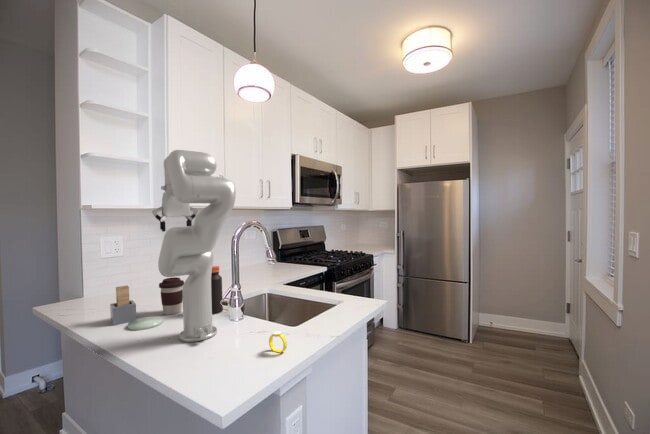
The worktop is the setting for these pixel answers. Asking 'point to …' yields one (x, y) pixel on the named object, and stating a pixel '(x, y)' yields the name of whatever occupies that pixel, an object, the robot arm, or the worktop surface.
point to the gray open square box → (123, 313)
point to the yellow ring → (279, 333)
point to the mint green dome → (145, 323)
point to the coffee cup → (171, 295)
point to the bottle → (216, 290)
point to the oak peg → (122, 295)
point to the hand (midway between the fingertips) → (176, 230)
